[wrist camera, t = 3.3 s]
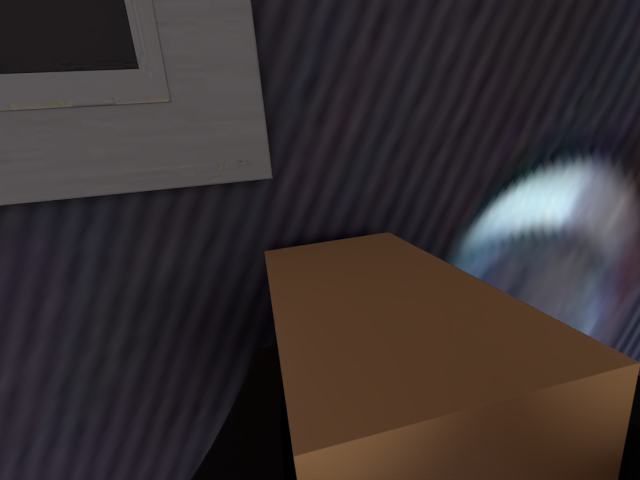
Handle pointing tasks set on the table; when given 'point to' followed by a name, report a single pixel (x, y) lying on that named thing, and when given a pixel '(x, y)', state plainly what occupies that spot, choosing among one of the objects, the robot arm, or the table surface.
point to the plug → (436, 372)
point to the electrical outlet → (127, 97)
